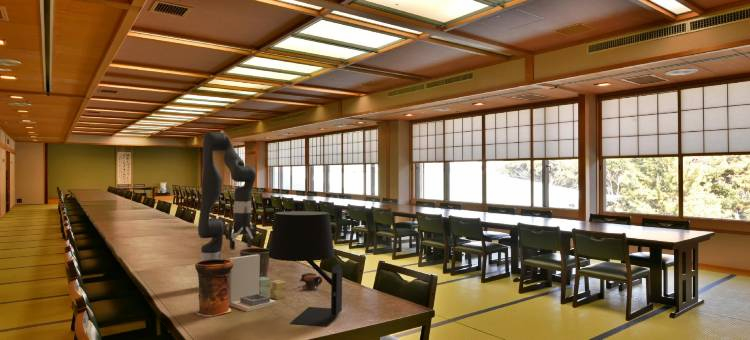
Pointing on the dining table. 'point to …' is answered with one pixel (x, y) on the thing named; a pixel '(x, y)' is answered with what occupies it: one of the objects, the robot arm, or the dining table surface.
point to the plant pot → (263, 258)
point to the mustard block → (278, 289)
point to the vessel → (213, 286)
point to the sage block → (264, 285)
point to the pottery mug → (311, 281)
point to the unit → (246, 284)
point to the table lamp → (308, 256)
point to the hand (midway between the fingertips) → (241, 248)
